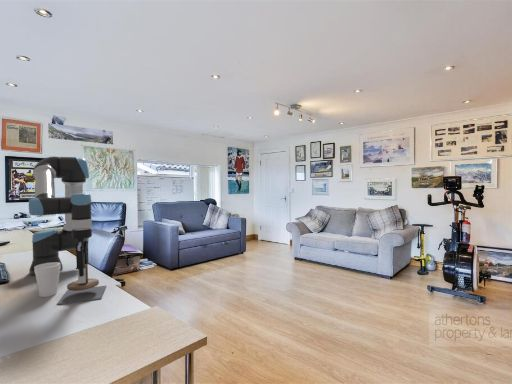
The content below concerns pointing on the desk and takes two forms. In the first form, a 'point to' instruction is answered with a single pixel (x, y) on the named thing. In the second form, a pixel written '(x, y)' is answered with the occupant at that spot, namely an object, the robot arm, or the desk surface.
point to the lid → (89, 283)
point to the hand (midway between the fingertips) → (83, 281)
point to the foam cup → (47, 278)
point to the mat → (82, 295)
